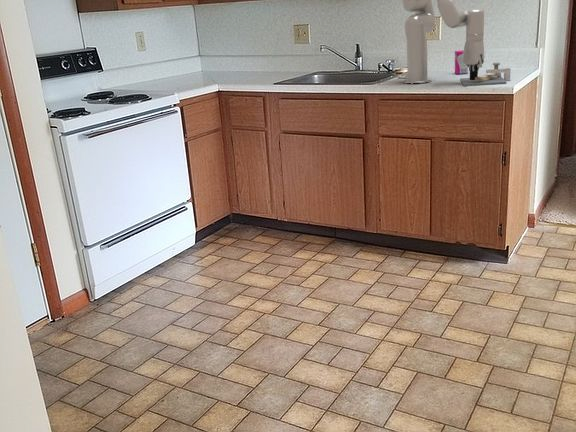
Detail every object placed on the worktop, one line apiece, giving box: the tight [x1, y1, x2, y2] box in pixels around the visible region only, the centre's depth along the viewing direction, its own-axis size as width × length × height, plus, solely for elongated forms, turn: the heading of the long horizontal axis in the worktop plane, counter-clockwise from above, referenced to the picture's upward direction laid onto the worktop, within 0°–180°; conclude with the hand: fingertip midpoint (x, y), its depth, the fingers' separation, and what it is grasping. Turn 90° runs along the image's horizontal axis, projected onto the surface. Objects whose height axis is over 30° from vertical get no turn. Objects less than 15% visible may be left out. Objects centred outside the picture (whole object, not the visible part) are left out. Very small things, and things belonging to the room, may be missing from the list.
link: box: [475, 62, 502, 82], centre depth 283 cm, size 18×4×6 cm, turn 133°
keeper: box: [485, 67, 511, 82], centre depth 282 cm, size 10×2×5 cm, turn 79°
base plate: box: [459, 76, 507, 87], centre depth 284 cm, size 18×20×1 cm
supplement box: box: [454, 49, 469, 76], centre depth 314 cm, size 6×6×12 cm
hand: (473, 79), depth 282 cm, fingers closed
